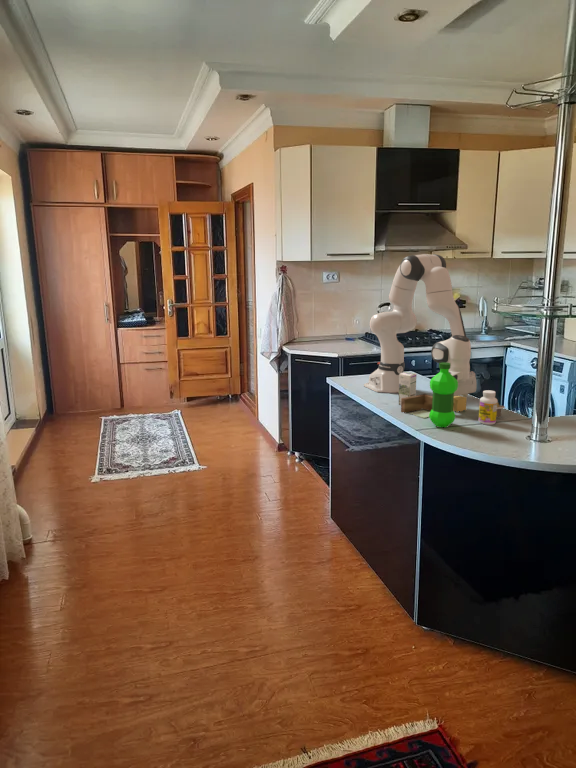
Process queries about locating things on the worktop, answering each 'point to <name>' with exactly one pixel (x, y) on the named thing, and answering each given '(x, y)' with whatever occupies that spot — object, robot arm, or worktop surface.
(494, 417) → the supplement bottle
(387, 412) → the worktop surface
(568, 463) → the worktop surface
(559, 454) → the worktop surface
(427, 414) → the pad
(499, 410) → the platform
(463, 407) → the block
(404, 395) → the syrup box
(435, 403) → the plastic bottle
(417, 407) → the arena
